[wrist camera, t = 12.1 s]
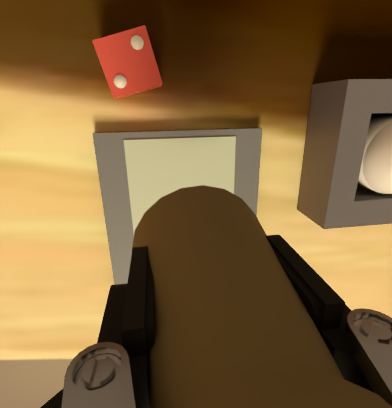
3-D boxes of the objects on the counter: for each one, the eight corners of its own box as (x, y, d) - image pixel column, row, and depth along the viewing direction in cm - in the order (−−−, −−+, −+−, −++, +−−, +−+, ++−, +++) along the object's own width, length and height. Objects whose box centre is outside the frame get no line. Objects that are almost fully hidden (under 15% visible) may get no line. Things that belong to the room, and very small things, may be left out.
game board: (258, 127, 20) (262, 128, 20) (246, 314, 27) (249, 321, 26) (95, 132, 19) (92, 133, 18) (123, 329, 25) (122, 337, 24)
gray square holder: (430, 83, 21) (489, 78, 17) (399, 202, 25) (442, 219, 21) (312, 84, 20) (348, 79, 16) (297, 209, 23) (324, 228, 20)
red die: (146, 37, 17) (144, 24, 15) (161, 86, 19) (162, 82, 16) (102, 51, 17) (91, 40, 14) (119, 99, 18) (113, 97, 16)
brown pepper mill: (104, 263, 12) (-179, 1176, 2) (189, 156, 11) (727, 920, 1) (206, 319, 14) (351, 904, 4) (286, 233, 13) (798, 728, 3)
